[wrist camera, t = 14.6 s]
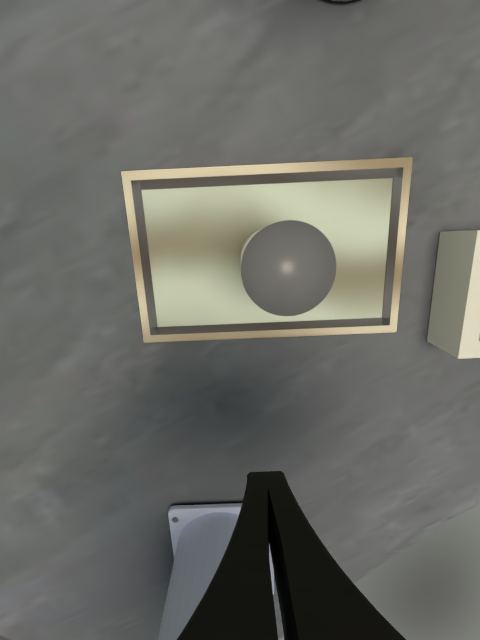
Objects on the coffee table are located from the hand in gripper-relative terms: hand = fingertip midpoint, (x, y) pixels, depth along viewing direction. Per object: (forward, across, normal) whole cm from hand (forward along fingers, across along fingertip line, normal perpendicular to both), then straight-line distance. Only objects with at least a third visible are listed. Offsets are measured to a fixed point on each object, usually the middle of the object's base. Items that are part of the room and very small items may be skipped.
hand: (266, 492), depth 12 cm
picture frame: (+9, -1, -8) cm, 13 cm away
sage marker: (+9, -1, -8) cm, 12 cm away
